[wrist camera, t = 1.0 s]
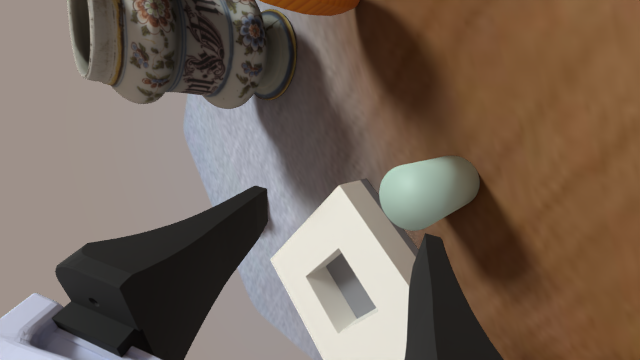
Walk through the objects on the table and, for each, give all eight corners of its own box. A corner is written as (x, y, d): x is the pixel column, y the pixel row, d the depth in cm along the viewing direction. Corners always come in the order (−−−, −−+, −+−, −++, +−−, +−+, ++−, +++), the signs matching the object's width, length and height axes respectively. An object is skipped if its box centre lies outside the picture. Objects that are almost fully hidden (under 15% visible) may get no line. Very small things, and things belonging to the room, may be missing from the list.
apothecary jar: (237, 15, 39) (51, -38, 26) (302, -16, 31) (80, -116, 18) (243, 112, 41) (73, 108, 28) (306, 107, 33) (108, 97, 20)
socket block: (468, 318, 24) (449, 345, 21) (361, 362, 32) (337, 386, 30) (366, 178, 29) (339, 184, 26) (296, 249, 37) (270, 259, 34)
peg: (492, 186, 22) (456, 206, 17) (448, 217, 24) (405, 242, 19) (454, 144, 23) (410, 150, 18) (416, 177, 25) (368, 190, 20)
